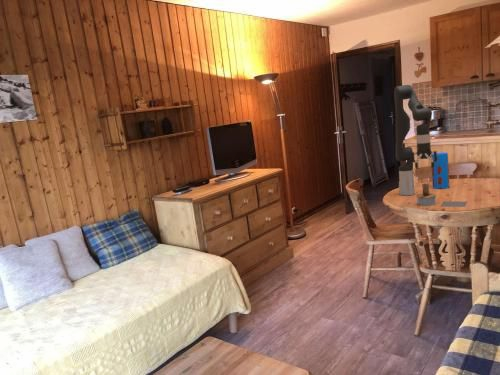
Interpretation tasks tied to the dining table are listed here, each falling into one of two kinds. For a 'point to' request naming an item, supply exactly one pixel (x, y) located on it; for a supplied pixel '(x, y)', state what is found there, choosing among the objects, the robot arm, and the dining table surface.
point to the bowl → (426, 201)
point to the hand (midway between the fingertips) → (424, 168)
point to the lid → (425, 192)
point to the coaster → (453, 204)
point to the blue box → (440, 171)
